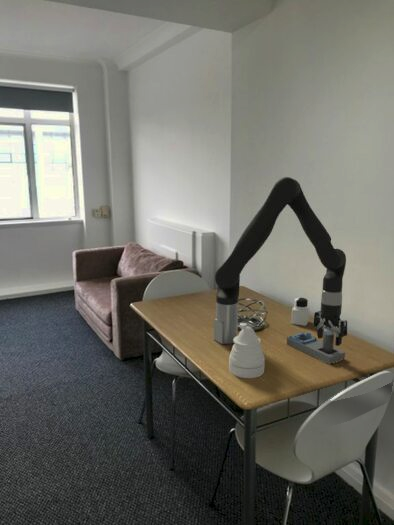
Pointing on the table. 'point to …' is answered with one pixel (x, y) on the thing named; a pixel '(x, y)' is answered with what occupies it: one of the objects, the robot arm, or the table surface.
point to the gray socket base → (314, 347)
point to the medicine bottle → (300, 312)
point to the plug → (328, 340)
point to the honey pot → (246, 354)
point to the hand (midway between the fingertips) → (328, 341)
